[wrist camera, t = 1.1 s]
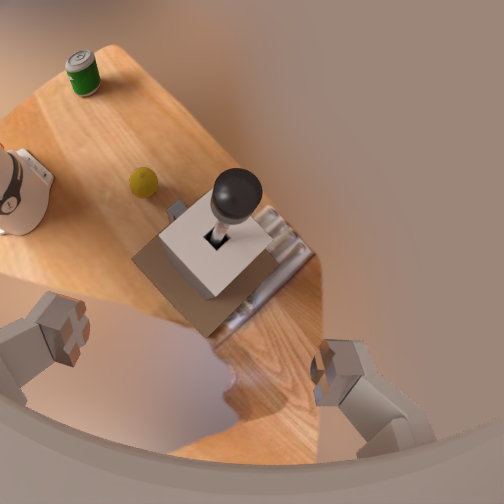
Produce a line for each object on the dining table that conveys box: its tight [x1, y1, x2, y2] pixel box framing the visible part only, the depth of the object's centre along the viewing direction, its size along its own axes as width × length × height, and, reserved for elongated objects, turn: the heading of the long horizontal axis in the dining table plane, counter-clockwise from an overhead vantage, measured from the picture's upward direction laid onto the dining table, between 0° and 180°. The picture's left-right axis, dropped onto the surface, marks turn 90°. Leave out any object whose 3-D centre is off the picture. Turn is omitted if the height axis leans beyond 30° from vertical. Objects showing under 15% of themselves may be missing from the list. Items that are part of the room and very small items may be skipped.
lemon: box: [130, 167, 158, 198], centre depth 50 cm, size 6×6×8 cm
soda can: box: [65, 50, 101, 97], centre depth 49 cm, size 8×8×12 cm
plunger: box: [204, 168, 262, 251], centre depth 32 cm, size 8×8×24 cm
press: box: [132, 189, 279, 338], centre depth 44 cm, size 20×20×20 cm
